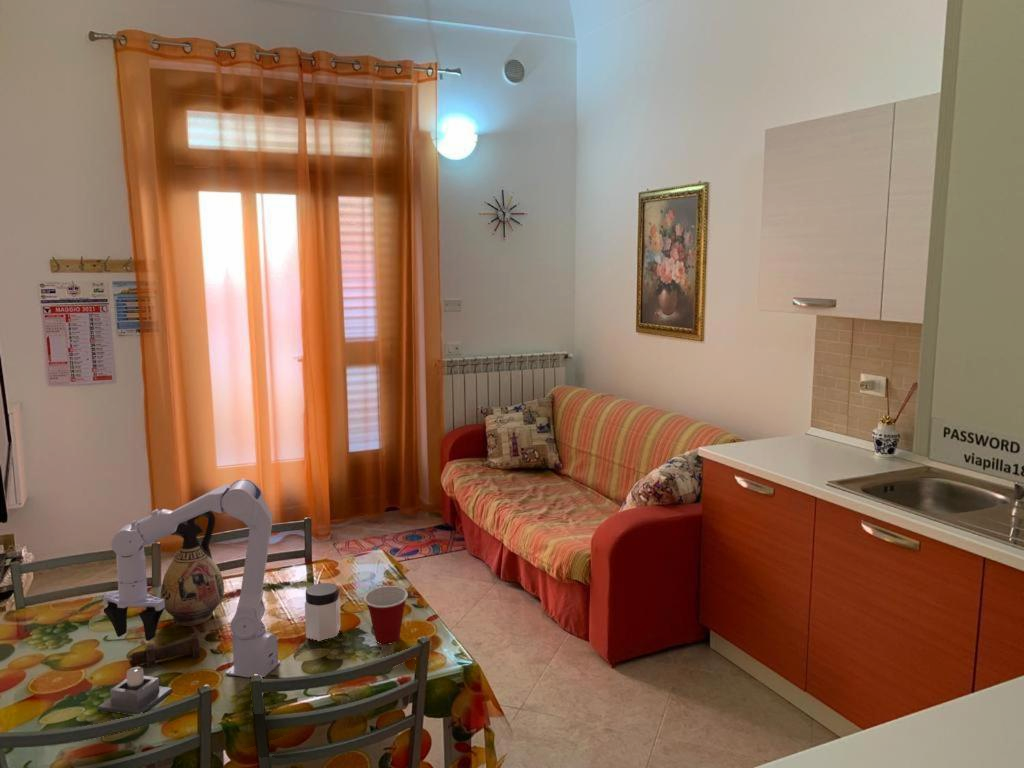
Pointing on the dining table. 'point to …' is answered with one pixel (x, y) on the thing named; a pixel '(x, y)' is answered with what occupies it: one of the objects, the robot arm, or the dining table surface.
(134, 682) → the pale grey cylinder
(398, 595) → the plastic cup
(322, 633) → the jar
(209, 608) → the ceramic jug
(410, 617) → the dining table surface
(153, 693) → the square socket base plate
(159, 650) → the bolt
